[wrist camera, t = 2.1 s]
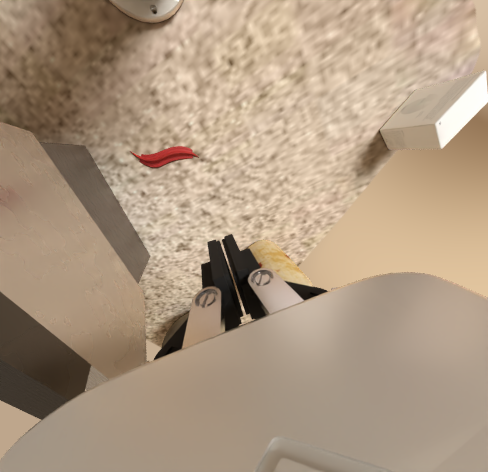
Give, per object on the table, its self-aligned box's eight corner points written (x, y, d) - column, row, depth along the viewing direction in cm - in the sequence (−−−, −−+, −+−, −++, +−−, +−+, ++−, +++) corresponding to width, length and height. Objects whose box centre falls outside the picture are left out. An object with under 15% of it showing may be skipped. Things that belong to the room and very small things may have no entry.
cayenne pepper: (128, 162, 31) (125, 163, 29) (128, 133, 29) (124, 131, 27) (198, 176, 34) (199, 177, 33) (201, 151, 33) (202, 151, 31)
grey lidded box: (-43, 156, 25) (-216, 158, 14) (75, 130, 27) (-1, 114, 16) (79, 288, 37) (34, 341, 27) (154, 263, 39) (140, 304, 29)
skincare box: (388, 151, 42) (442, 150, 33) (378, 130, 39) (434, 123, 30) (423, 113, 40) (491, 101, 31) (415, 88, 38) (487, 67, 28)
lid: (-1311, -221, 1) (-876, -167, 2) (15, 134, 17) (31, 131, 17) (131, 462, 12) (149, 448, 13) (136, 297, 28) (144, 293, 28)
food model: (241, 257, 44) (271, 325, 27) (249, 234, 42) (288, 291, 25) (274, 262, 48) (320, 325, 30) (283, 240, 45) (339, 295, 28)
